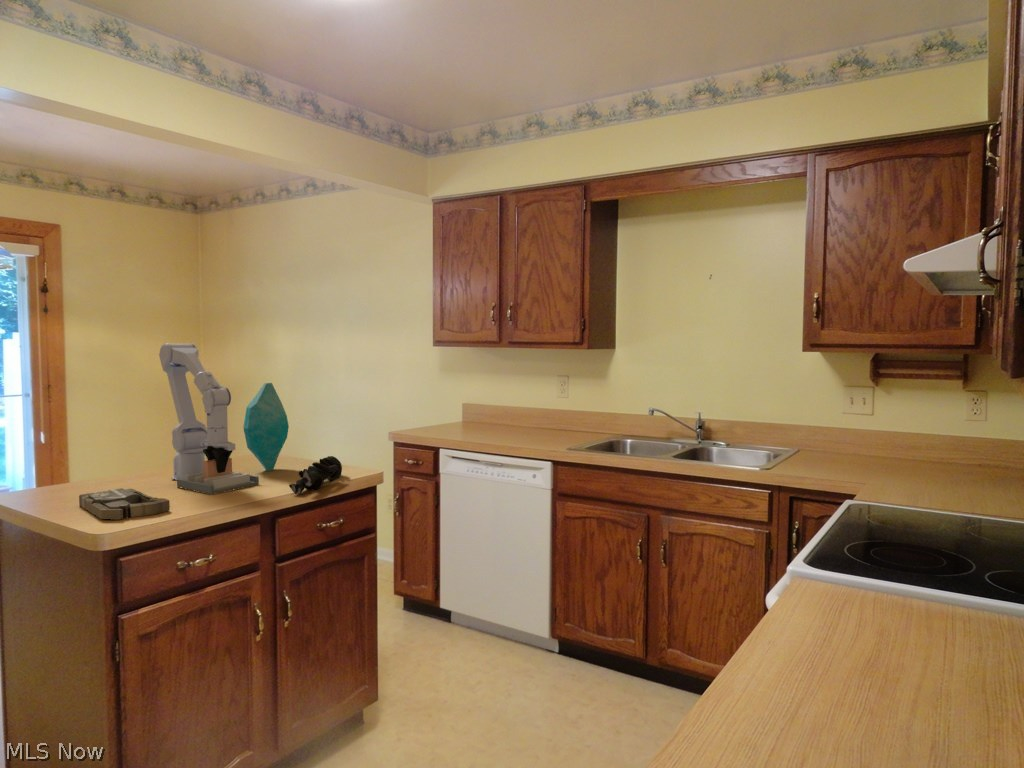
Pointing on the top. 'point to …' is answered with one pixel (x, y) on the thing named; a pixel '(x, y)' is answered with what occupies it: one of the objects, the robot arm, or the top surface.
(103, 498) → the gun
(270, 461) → the crystal
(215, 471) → the tile
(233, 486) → the rack
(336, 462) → the figurine
